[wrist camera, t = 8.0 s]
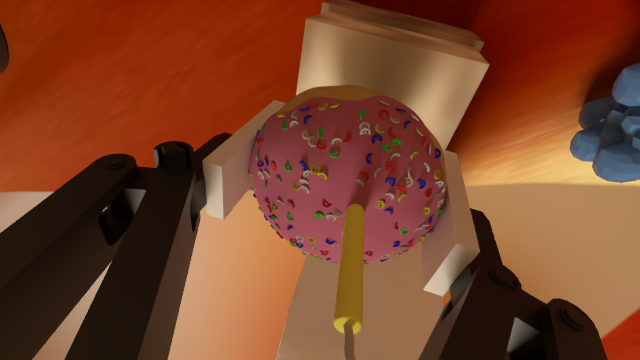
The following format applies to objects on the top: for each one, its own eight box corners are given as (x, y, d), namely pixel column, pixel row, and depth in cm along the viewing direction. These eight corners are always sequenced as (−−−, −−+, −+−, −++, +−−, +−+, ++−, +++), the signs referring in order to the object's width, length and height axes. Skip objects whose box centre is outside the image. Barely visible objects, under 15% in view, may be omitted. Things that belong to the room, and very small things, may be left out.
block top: (306, 137, 26) (286, 165, 22) (328, 11, 20) (306, 18, 16) (416, 169, 25) (415, 205, 21) (473, 47, 19) (489, 64, 15)
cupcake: (384, 20, 13) (289, 139, 3) (469, 164, 15) (561, 471, 6) (259, 119, 17) (65, 291, 8) (342, 217, 20) (274, 436, 10)
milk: (440, 194, 32) (484, 582, 11) (401, 256, 39) (385, 567, 18) (338, 160, 33) (209, 457, 12) (318, 227, 40) (215, 488, 19)
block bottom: (317, 116, 31) (300, 140, 26) (340, -2, 24) (322, 1, 19) (417, 145, 30) (418, 176, 25) (470, 29, 23) (484, 42, 18)
